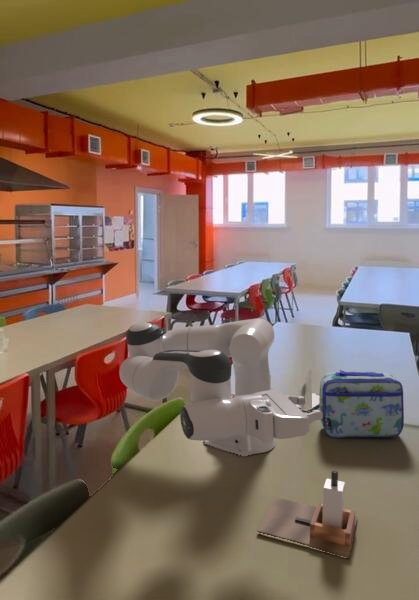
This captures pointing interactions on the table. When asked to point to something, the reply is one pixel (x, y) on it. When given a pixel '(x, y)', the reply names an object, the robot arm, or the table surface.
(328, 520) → the connector plug
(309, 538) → the board
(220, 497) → the table surface
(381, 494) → the table surface
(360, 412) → the lunch box
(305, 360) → the table surface
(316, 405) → the phone case
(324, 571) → the table surface
